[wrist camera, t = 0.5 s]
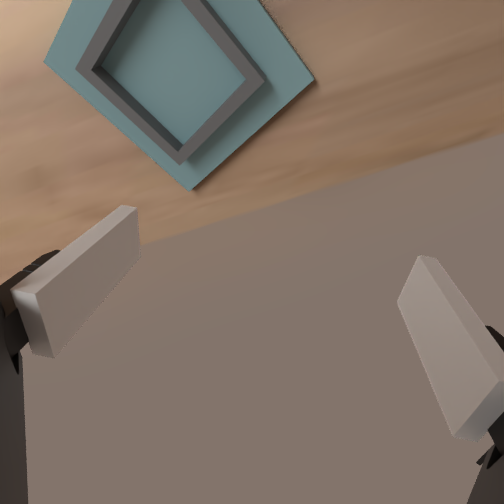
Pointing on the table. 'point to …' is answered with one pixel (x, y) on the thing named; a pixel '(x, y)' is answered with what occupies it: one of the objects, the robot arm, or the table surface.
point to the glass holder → (179, 74)
